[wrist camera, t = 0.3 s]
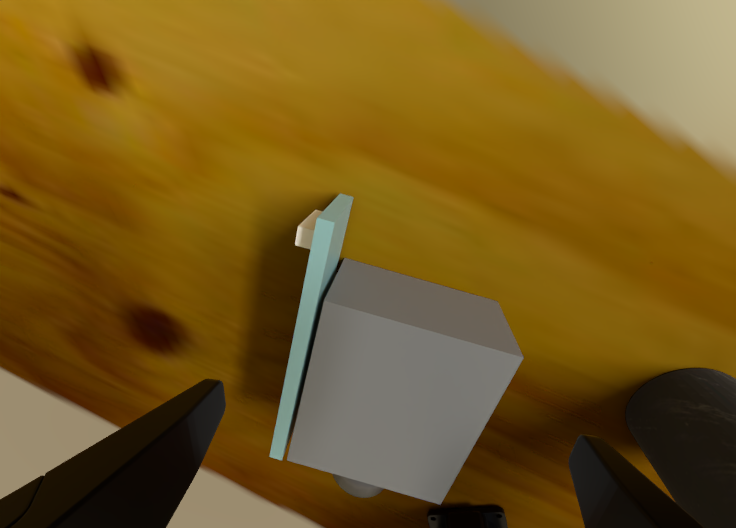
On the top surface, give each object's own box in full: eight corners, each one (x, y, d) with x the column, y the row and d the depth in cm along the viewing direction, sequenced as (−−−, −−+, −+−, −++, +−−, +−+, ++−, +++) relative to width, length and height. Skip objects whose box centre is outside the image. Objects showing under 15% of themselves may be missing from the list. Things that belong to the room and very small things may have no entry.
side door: (305, 397, 26) (281, 460, 21) (283, 391, 26) (254, 452, 21) (353, 197, 19) (334, 222, 15) (323, 188, 19) (294, 211, 15)
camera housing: (425, 451, 27) (428, 526, 22) (305, 416, 27) (281, 483, 22) (497, 301, 21) (523, 357, 16) (344, 257, 21) (323, 300, 16)
